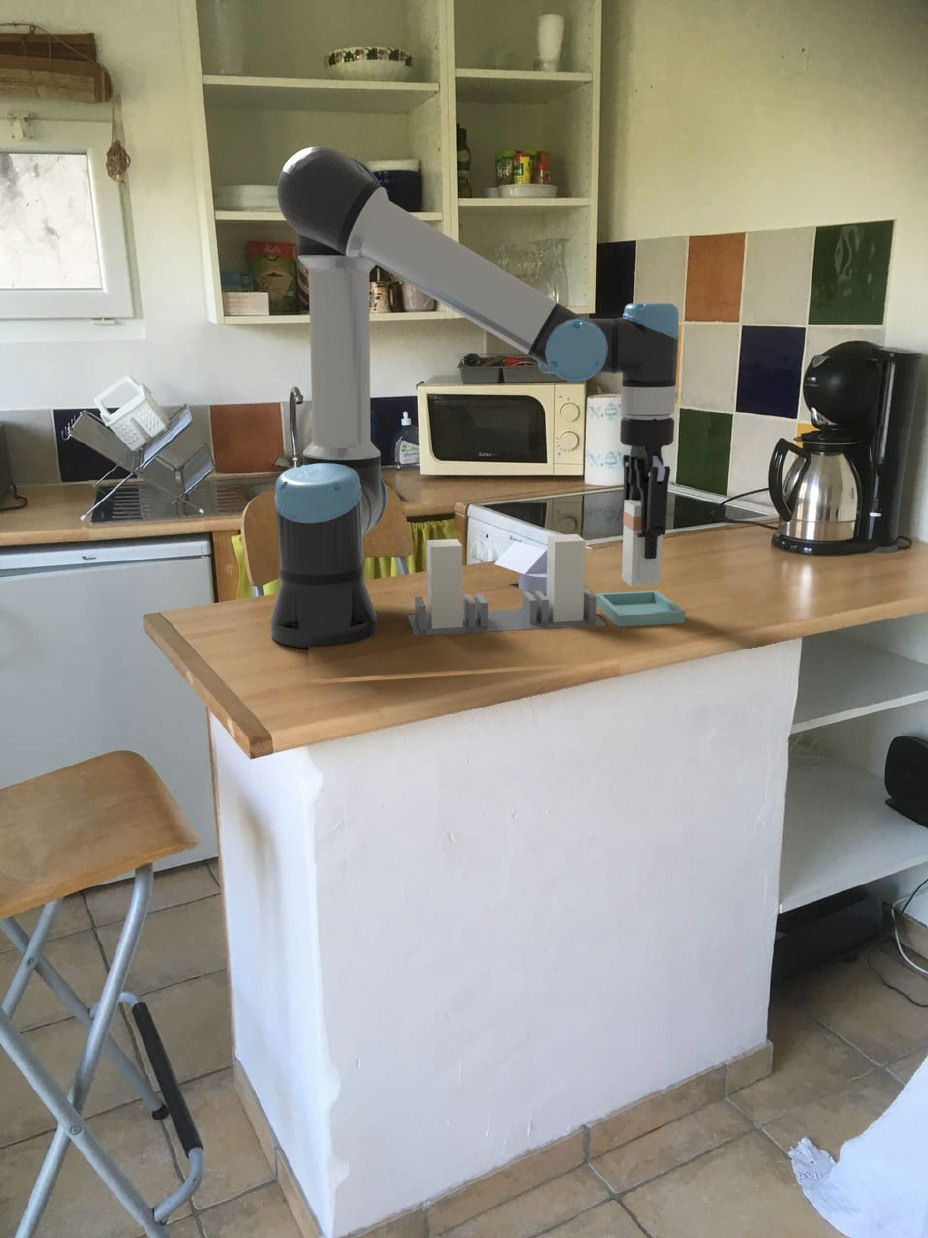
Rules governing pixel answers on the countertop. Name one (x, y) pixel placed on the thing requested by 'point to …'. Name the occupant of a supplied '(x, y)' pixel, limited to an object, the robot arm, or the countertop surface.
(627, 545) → the block
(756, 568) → the countertop surface
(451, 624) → the block
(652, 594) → the tray
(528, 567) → the wedge on round base
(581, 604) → the block
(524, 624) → the holder
